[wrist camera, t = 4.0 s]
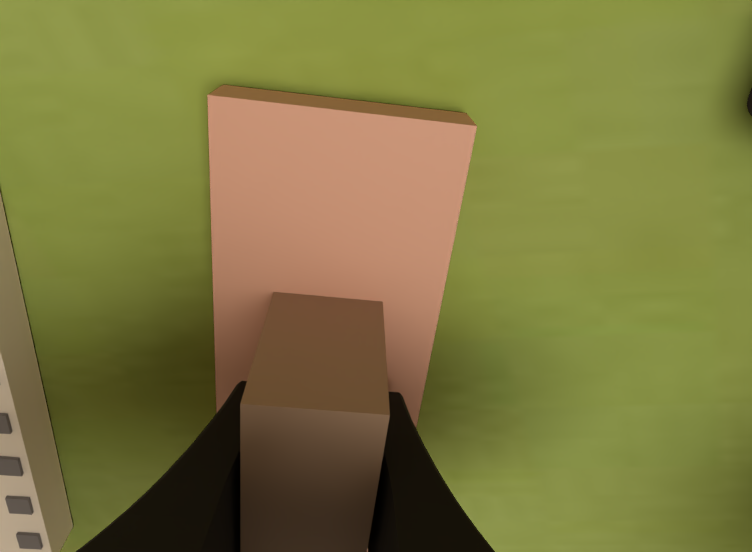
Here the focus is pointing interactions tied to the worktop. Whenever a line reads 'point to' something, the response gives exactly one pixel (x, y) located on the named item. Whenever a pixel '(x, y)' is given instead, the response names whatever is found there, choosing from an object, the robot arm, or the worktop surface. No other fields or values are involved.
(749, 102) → the calculator
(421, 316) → the pink block with handle
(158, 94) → the worktop surface
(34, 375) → the cream notepad
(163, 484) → the robot arm
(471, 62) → the worktop surface
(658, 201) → the worktop surface
